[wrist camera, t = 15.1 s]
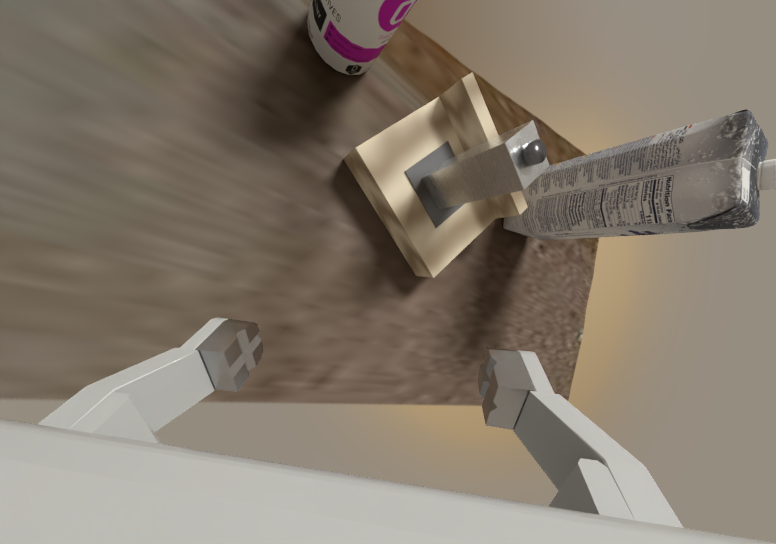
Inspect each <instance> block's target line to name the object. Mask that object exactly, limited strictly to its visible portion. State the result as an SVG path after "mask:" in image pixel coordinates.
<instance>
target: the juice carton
mask: <svg viewBox="0 0 776 544" xmlns="http://www.w3.org/2000/svg"><path fill="white" fill-rule="evenodd" d="M767 148H768V141H767V139H766V138H765V136H764V133H763V131H762V129H761V128H760V126H759V125H758V124H757V122H756V120H755V119H754V116H753V114H752V112H750V111H749V110H742V111H739V112H736V113H733V114H731V115H727V116H724V117H720V118H716V119H712V120H708V121H704V122H701V123H696V124H693V125H689V126H686V127H682V128H678V129H675V130H671V131H668V132H664V133H661V134H657V135H654V136H650V137H647V138H643V139H640V140H637V141H633V142H630V143H626V144H623V145H619V146H616V147H612V148H609V149H605V150H602V151H599V152H595V153H592V154H589V155H585V156H581V157H578V158H574V159H571V160H568V161H564V162H561V163H557V164H554V165H550V166H549V167H548V168H547V169H546V170H545V171H543V172H542V173H541V174H540V175H539V176H538V177H537V178H536V179H535V180H534V181H533V182H532V183H531V184H530V185H529V186H528V187H527V188H526V189H525V190H521V192H522V194H523V197H524V199H525V201H526V204H527V206H528V207H527V208H526V209H525V210H524V211H523V212H522V213H521V214H520V215H517V216H510V217H504V223H503V228H504V229H506V230H509V231H513V232H517V233H519V234H522V235H524V236H527V237H531V238H535V239H541V240H555V239H575V238H595V237H614V236H633V235H652V234H670V233H686V232H699V231H708V230H716V229H735V228H745V227H750V226H753V225H755V224H756V223H757V222H758V220H759V216H760V199H759V190H770V189H776V159H772V160H766V161H764V160H765V157H766V153H767Z"/></svg>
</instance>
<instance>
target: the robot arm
mask: <svg viewBox="0 0 776 544" xmlns="http://www.w3.org/2000/svg"><path fill="white" fill-rule="evenodd" d="M258 332H259V328H258V325H257V324H256V323H254V322H248V321H240V320H233V319H223V318H213V319H211V320H210V321H209V322H208V323H207V324H205V325H204V326H203V327H202V328H201V329H200V330H199V331H198V332H197V333H196V334H194V335H193V336H192V337H191V338H190V339H189V340H188V341H187V342H186V343H185V344H183V345H182V346H181V347H180V348H173V349H171V350H169V351H167V352H164V353H162V354H160V355H157V356H155V357H153V358H150V359H148V360H146V361H143V362H141V363H139V364H136V365H134V366H132V367H130V368H127V369H125V370H123V371H120V372H118V373H116V374H113V375H111V376H109V377H106V378H104V379H102V380H99V381H97V382H95V383H93V384H90V385H88V386H86V387H85V388H83V389H82V390H81V391H79V392H78V393H77V394H76V395H74V396H73V397H72V398H70V399H69V400H68V401H66V402H65V403H64V404H63V405H61V406H60V407H59V408H57V409H56V410H55V411H54V412H52V413H51V414H50V415H48V416H47V417H46V418H45V419H43V420H42V421H41V422H39V423H38V424H32V423H26V422H20V421H14V420H7V419H1V418H0V544H776V543H773V542H767V541H761V540H754V539H748V538H742V537H736V536H730V535H723V534H717V533H711V532H705V531H698V530H692V529H686V528H683V527H682V525H681V523H680V522H679V520H678V518H677V517H676V515H675V513H674V512H673V510H672V509H671V507H670V506H669V504H668V503H667V501H666V499H665V498H664V496H663V494H662V493H661V491H660V489H659V488H658V486H657V485H656V483H655V481H654V480H653V478H652V477H651V475H650V474H649V472H648V470H647V469H646V467H645V466H644V465H643V464H642V463H641V462H639V461H638V460H637V459H636V458H635V457H633V456H632V455H631V454H630V453H629V452H627V451H626V450H625V449H624V448H622V447H621V446H620V445H619V444H618V443H617V442H615V441H614V440H613V439H612V438H611V437H610V436H608V435H607V434H606V433H605V432H604V431H602V430H601V429H600V428H599V427H598V426H596V425H595V424H594V423H593V422H592V421H590V420H589V419H588V418H587V417H586V416H585V415H583V414H582V413H581V412H580V411H579V410H577V409H576V408H575V407H574V406H573V405H571V404H570V403H569V402H568V401H567V400H565V399H564V398H563V397H562V396H561V395H559V394H554V392H553V390H552V387H551V385H550V383H549V381H548V379H547V377H546V375H545V373H544V370H543V368H542V366H541V364H540V362H539V360H538V358H537V356H536V354H535V353H534V352H530V351H519V350H517V351H516V350H507V349H497V348H487V347H486V349H485V350H484V353H483V359H484V363H483V364H482V365H480V369H479V375H478V385H479V392H480V395H481V396H482V397H483V398H484V401H483V405H482V408H483V413H484V418H485V424H486V425H487V426H493V427H499V428H505V429H511V430H514V432H515V434H516V435H517V436H518V438H519V439H520V440H521V442H522V443H523V444H524V446H525V447H526V448H527V450H528V451H529V452H530V454H531V455H532V456H533V457H534V459H535V460H536V461H537V463H538V464H539V465H540V466H541V468H542V469H543V471H544V472H545V473H546V474H547V476H548V477H549V478H550V480H551V481H552V482H553V484H554V485H555V486H556V488H557V489H558V490H559V491H558V493H557V494H556V496H555V497H554V499H553V500H552V502H551V504H550V505H549V507H548V506H542V505H535V504H530V503H523V502H517V501H510V500H505V499H498V498H492V497H486V496H480V495H474V494H467V493H461V492H454V491H449V490H442V489H436V488H430V487H424V486H418V485H411V484H405V483H399V482H392V481H386V480H380V479H374V478H368V477H362V476H355V475H349V474H343V473H337V472H330V471H325V470H319V469H312V468H306V467H300V466H294V465H288V464H281V463H274V462H269V461H263V460H256V459H250V458H244V457H237V456H231V455H225V454H218V453H213V452H206V451H200V450H194V449H188V448H182V447H175V446H169V445H163V444H161V442H160V440H159V439H158V438H157V436H156V435H155V433H154V432H156V431H157V430H159V429H160V428H161V427H163V426H164V425H166V424H167V423H169V422H170V421H172V420H173V419H174V418H176V417H177V416H179V415H180V414H181V413H183V412H184V411H186V410H187V409H188V408H190V407H192V406H193V405H194V404H196V403H197V402H199V401H200V400H202V399H203V398H204V397H206V396H207V395H209V394H210V393H212V392H213V391H214V389H218V390H227V391H237V392H238V391H239V389H240V388H241V386H242V385H243V384H244V382H245V381H246V379H247V378H248V377H249V371H248V370H250V369H252V368H253V367H255V366H256V365H257V364H258V362H259V361H260V359H261V356H262V353H263V343H262V340H261V339H260V338H259V337H258V336H257V334H258Z"/></svg>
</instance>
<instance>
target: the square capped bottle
mask: <svg viewBox="0 0 776 544" xmlns="http://www.w3.org/2000/svg"><path fill="white" fill-rule="evenodd" d="M548 167H549V163H548V160H547V158H546V147H545V145H544V143H543V142H542V141H541V140H540V138H539V135H538V133H537V130H536V127H535V124H534V122H533V120H532V121H530V122H528V123H526V124H524V125H522V126H519V127H517V128H515V129H513V130H511V131H509V132H506V133H504V134H502V135H500V136H498V137H495V138H493V139H491V140H489V141H487V142H485V143H482V144H480V145H478V146H476V147H474V148H472V149H469V150H467V151H465V152H463V153H461V154H459V155H456V156H454V157H452V158H450V159H448V160H445V161H444V162H443V163H441V164H440V165H439V166H437V167H436V168H435V169H433V170H432V171H431V172H429V173H428V174H427V175H425V176H424V177H423V178H422V179H423V181H424V182H425V184H426V186H427V188H428V190H429V192H430V194H431V196H432V197H433V199H434V201H435V203H436V205H437V207H438V209H443V208H448V207H452V206H456V205H461V204H465V203H469V202H474V201H478V200H482V199H487V198H491V197H495V196H500V195H504V194H508V193H513V192H517V191H521V190H525V189H526V188H527V187H528V186H529V185H530V184H531V183H532V182H533V181H534V180H535V179H536V178H537V177H538V176H539V175H540V174H541V173H542V172H543V171H545V170H546V169H547V168H548Z"/></svg>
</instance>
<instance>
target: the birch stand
mask: <svg viewBox="0 0 776 544" xmlns="http://www.w3.org/2000/svg"><path fill="white" fill-rule="evenodd" d="M495 137H498V133H497V131H496V129H495V126H494V124H493V121H492V119H491V116H490V114H489V112H488V109H487V107H486V104H485V102H484V99H483V97H482V95H481V92H480V90H479V87H478V85H477V82H476V80H475V78H474V75H473V73H470V74H469V75H467V76H465V77H464V78H462V79H461V80H459V81H458V82H457V83H456V84H454V85H453V86H452V87H451V88H449V89H448V90H447V91H446V92H444V93H443V94H442V95H441V96H439V97H438V98H436V99H434V100H433V101H431V102H430V103H428V104H426V105H425V106H423V107H421V108H420V109H418V110H416V111H415V112H413V113H412V114H410V115H408V116H407V117H405V118H403V119H402V120H400V121H399V122H397V123H395V124H394V125H392V126H390V127H389V128H387V129H385V130H384V131H382V132H381V133H379V134H377V135H376V136H374V137H372V138H371V139H369V140H367V141H366V142H364V143H363V144H361V145H359V146H358V147H356V148H355V149H354V150H353V151H352V152H350V153H349V154H348V155H347V156H346V157H345V158H344V159H343V160H344V161H345V163H346V164H347V166H348V168H349V169H350V171H351V172H352V174H353V176H354V177H355V179H356V180H357V182H358V184H359V185H360V187H361V188H362V190H363V192H364V193H365V195H366V196H367V198H368V200H369V201H370V203H371V204H372V206H373V208H374V209H375V211H376V212H377V214H378V216H379V217H380V219H381V220H382V222H383V224H384V225H385V227H386V228H387V230H388V232H389V233H390V235H391V236H392V238H393V240H394V241H395V243H396V244H397V246H398V248H399V249H400V251H401V252H402V254H403V256H404V257H405V259H406V260H407V262H408V264H409V265H410V267H411V268H412V270H413V272H414V273H415V275H416V276H422V277H431V278H434V277H435V276H436V275H437V274H438V273H439V272H440V271H441V270H442V269H443V268H444V267H445V266H447V265H448V264H449V263H450V262H451V261H452V260H453V259H454V258H455V257H456V256H457V255H458V254H459V253H460V252H461V251H462V250H463V249H464V248H465V247H466V246H467V245H468V244H470V243H471V242H472V241H473V240H474V239H475V238H476V237H477V236H478V235H479V234H480V233H481V232H482V231H483V230H484V229H485V228H486V227H487V226H488V225H489V224H490V223H491V222H493V221H494V220H495V219H496V218H503V217H510V216H517V215H520V214H521V213H522V212H523V211H524V210H525V209H526V208H527V207H528V206H527V204H526V201H525V199H524V197H523V194H522V192H521V191H517V192H513V193H508V194H504V195H500V196H495V197H491V198H487V199H482V200H478V201H474V202H469V203H465V204H461V205H456V206H452V207H448V208H443V209H438V207H437V205H436V203H435V201H434V199H433V197H432V196H431V194H430V192H429V190H428V188H427V186H426V184H425V182H424V181H423V179H422V178H423V177H424V176H425V175H427V174H428V173H429V172H431V171H432V170H433V169H435V168H436V167H437V166H439V165H440V164H441V163H443V162H444V161H445V160H448V159H450V158H452V157H454V156H456V155H459V154H461V153H463V152H465V151H467V150H469V149H472V148H474V147H476V146H478V145H480V144H482V143H485V142H487V141H489V140H491V139H493V138H495Z"/></svg>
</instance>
